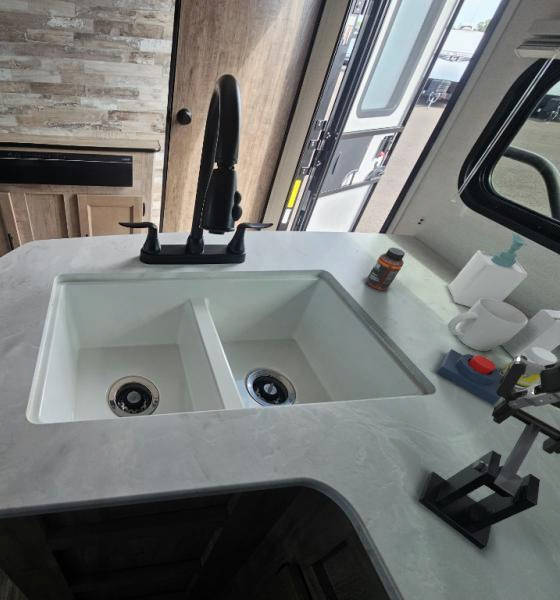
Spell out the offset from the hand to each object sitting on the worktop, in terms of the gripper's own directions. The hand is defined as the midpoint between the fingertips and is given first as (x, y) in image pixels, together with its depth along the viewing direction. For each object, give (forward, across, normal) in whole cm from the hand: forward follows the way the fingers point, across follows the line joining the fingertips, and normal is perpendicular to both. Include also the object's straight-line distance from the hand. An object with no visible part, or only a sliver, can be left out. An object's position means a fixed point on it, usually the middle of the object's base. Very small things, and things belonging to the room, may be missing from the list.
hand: (521, 433), depth 47 cm
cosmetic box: (+12, +3, +44) cm, 46 cm away
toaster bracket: (+12, 0, -9) cm, 15 cm away
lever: (+1, 0, -4) cm, 4 cm away
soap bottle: (+12, -10, +60) cm, 62 cm away
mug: (+12, -7, +38) cm, 40 cm away
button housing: (+12, -4, +24) cm, 27 cm away
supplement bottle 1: (+12, -30, +44) cm, 54 cm away
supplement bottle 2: (+12, +3, +32) cm, 34 cm away
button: (+8, -4, +24) cm, 26 cm away
